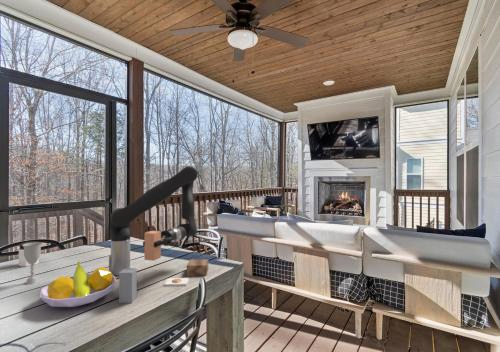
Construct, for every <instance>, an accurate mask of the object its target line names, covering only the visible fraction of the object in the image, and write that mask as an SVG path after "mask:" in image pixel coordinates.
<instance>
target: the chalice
mask: <svg viewBox="0 0 500 352" xmlns="http://www.w3.org/2000/svg"><path fill="white" fill-rule="evenodd" d="M42 244H43V242H42V241H41V242H40V241H35V242H34V243H27V244H24V245H23V247H24V257H25V259H26V261H27V262H28V263H29V264H31V266H30V272H29V273H30V276H29V277H28V278H27V280H26V282H25V285H33V284H34V285H35V284H36V283H37V284H38V283H39V282H40V280H39V278H38V276H35V265H34V263H36V262H37V260H38V259H39V258H40V256H41V254H42V250H41V249H42ZM39 260H40V259H39Z"/></svg>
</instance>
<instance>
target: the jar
mask: <svg viewBox="0 0 500 352" xmlns="http://www.w3.org/2000/svg"><path fill="white" fill-rule="evenodd" d="M34 242H36V241H35V240H33V241H26V242H25V241H24V242H21V243H19V249H18V267H23V268H27V267H31V264H29V263H28V262H27V261H26V259H25V257H24V247H23V245H24V244H27V243H34ZM39 262H40V259H38V260H37V262H36V263H34V266H36V265H38V263H39Z"/></svg>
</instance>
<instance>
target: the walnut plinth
mask: <svg viewBox="0 0 500 352" xmlns="http://www.w3.org/2000/svg"><path fill="white" fill-rule="evenodd" d="M208 272H209V259H207V258H206V259H199V258H198V259H189V260H188V262H187V264H186V277H187V276H207V275H208Z"/></svg>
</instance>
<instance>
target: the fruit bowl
mask: <svg viewBox="0 0 500 352" xmlns="http://www.w3.org/2000/svg"><path fill="white" fill-rule="evenodd" d="M117 282H118V281H117V279H116V277H115V275H112V273H111V272H110V271H109V269H107V268H106V267H105V266H102V267H96V268H95V269H94V270H93V271H92V272H91V273H86V270H84V268H83V266H82V265H81V262H80V261H78V262H77V265H76V268H75V270H74V273H73V275H72V276H69V277H68V276H58V277H57V278H55V279H54V280H53V281H51V282H50V283H48V285H46V286H44V287H42V288H41V289H40V294H39V297H40V298H41V300H43V302H44V303H46V304H47V305H49V306H50V307H51V308H52V307H53V308H58V307H59V308H77V307H80V306H83V305H86V304H90V303H94V302H95V301H98V300H99V299H101V298H102V297H105V296H107V295H108V294H111V291H112V290H113V288H114V286H115V285H116V283H117Z"/></svg>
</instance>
